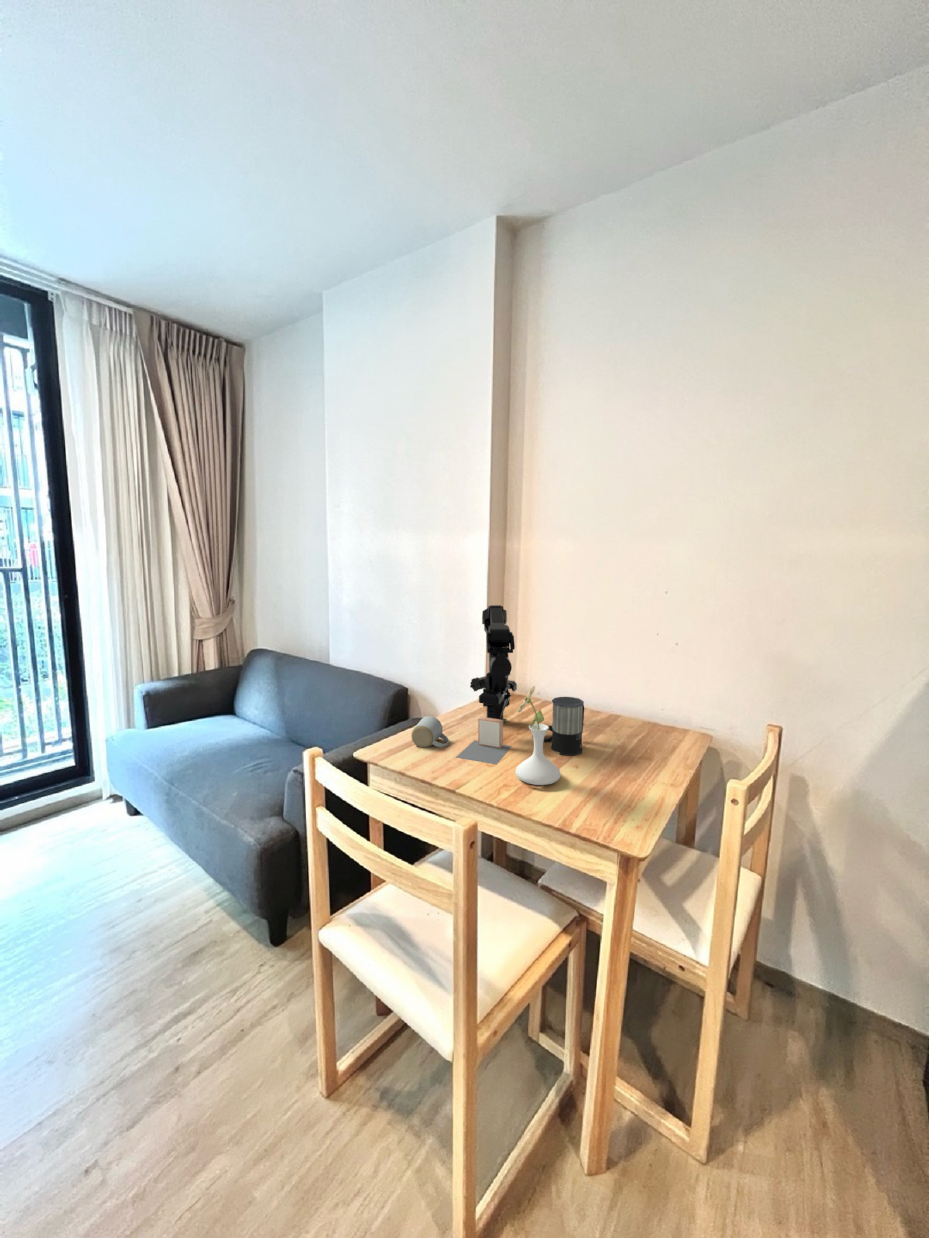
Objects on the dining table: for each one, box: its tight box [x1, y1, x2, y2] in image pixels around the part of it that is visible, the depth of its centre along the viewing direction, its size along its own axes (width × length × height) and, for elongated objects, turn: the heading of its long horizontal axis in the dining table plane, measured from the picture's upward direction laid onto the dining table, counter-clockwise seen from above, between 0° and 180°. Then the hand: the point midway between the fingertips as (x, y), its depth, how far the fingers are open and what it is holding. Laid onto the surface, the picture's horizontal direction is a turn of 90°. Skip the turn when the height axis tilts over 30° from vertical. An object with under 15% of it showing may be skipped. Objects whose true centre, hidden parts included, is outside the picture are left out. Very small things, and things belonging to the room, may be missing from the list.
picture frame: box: [477, 716, 504, 748], centre depth 145 cm, size 2×7×8 cm, turn 67°
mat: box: [455, 739, 513, 765], centre depth 141 cm, size 14×12×1 cm
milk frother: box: [531, 696, 585, 756], centre depth 146 cm, size 14×16×15 cm
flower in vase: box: [514, 685, 562, 786], centre depth 123 cm, size 13×11×25 cm
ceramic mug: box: [411, 715, 450, 749], centre depth 147 cm, size 11×8×8 cm
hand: (498, 718), depth 151 cm, fingers closed
